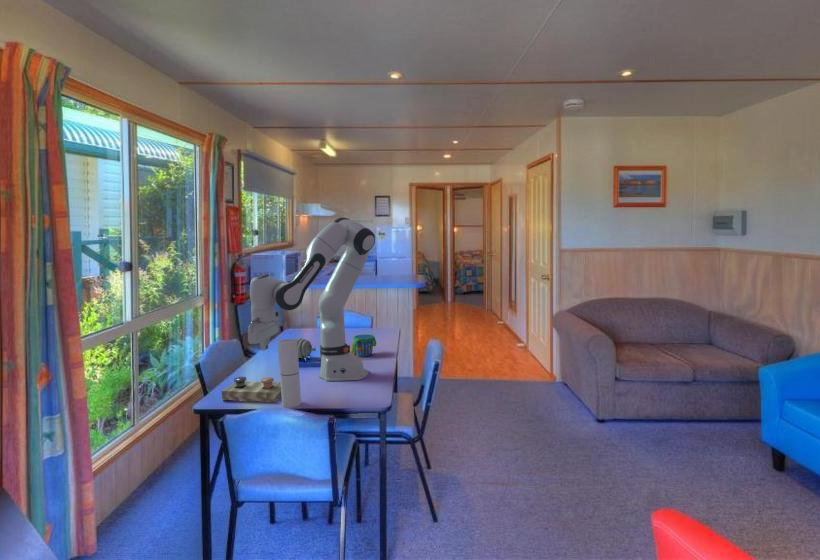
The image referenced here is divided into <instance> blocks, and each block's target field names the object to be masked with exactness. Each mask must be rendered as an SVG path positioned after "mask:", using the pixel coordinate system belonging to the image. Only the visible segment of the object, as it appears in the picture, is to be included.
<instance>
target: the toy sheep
mask: <svg viewBox="0 0 820 560" xmlns="http://www.w3.org/2000/svg"><path fill="white" fill-rule="evenodd" d="M295 339H296V340H297V347H298V358H306V359H307V357H308V356H310V357H311V354H312V352H316V350H317V348H316V347H312V344H311V341H310V340H307V339H305V338H295Z"/></svg>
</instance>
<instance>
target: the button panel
mask: <svg viewBox="0 0 820 560" xmlns="http://www.w3.org/2000/svg"><path fill="white" fill-rule="evenodd" d="M280 398H282V395H281V382H278V381H277V382H275V381H273V382H272V388H271V389H264V386H263V383H262V382H261V381H245V387H244V388H236V382H234V383H232V384H230V385H229V386H227V387H226V388H224V389H222V390H221V400H235V401H234V402H247V401H259V402H258V403H275V402H276V401H277V400H279V399H280ZM237 400H238V401H237ZM240 400H241V401H240Z"/></svg>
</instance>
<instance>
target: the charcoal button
mask: <svg viewBox="0 0 820 560" xmlns="http://www.w3.org/2000/svg"><path fill="white" fill-rule="evenodd" d="M233 381H234V383H235V382H236V388H244V387H245V382H247V376H239V377H235V378H234V379H233Z"/></svg>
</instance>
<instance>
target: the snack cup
mask: <svg viewBox="0 0 820 560" xmlns="http://www.w3.org/2000/svg"><path fill="white" fill-rule="evenodd" d="M376 346H377V340H376V338H375V335H373V334H367V333H365V334H356V335H355V336H353V342H352V347H351V349H352V353H357V354H356V356H357V357H358V358H368V357H370V356H373V348H374V347H376Z"/></svg>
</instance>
